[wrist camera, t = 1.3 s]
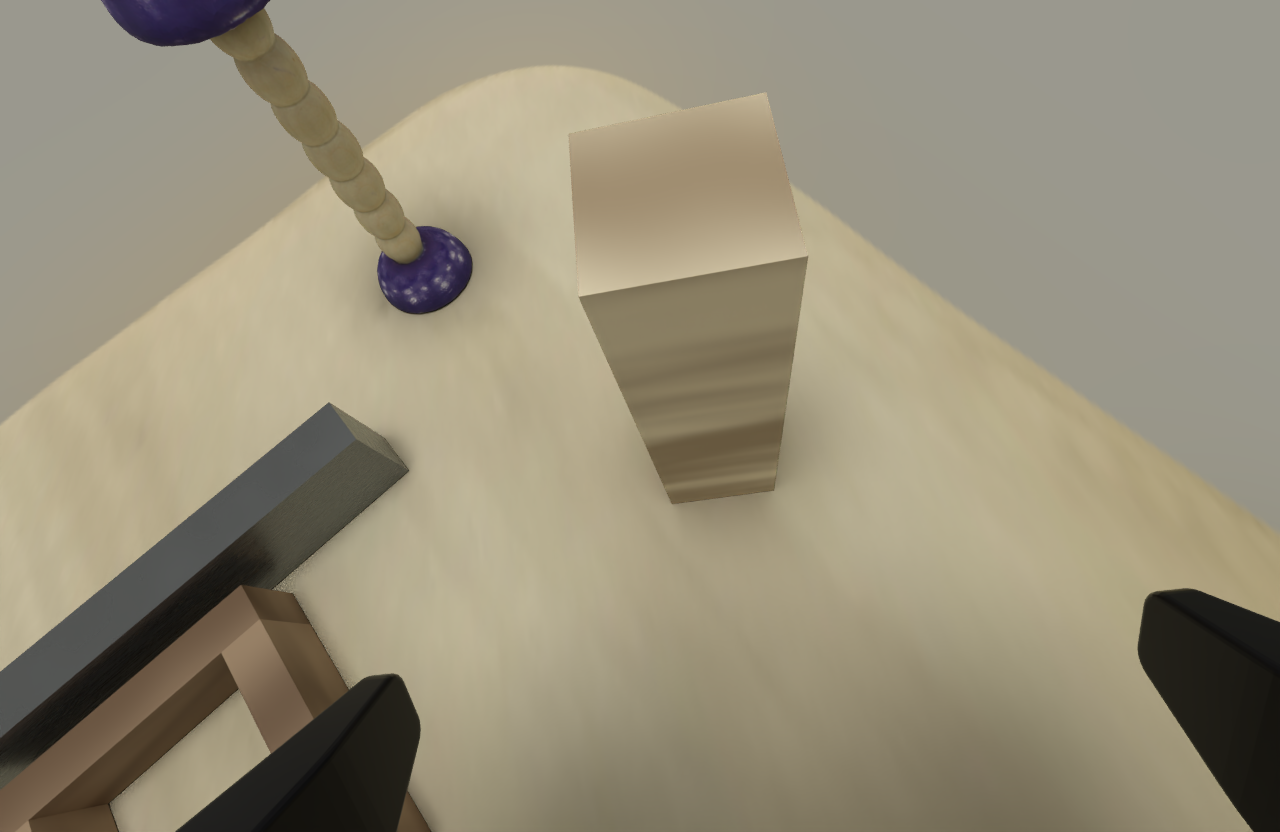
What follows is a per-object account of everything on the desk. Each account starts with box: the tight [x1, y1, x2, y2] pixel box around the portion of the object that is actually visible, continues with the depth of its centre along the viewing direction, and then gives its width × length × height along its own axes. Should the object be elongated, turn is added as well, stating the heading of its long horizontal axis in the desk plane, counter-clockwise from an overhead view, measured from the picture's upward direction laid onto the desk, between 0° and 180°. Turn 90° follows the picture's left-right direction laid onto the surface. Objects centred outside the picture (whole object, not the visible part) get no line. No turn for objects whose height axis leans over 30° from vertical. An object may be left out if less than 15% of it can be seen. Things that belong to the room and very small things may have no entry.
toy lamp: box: [101, 0, 472, 313], centre depth 20 cm, size 5×5×17 cm
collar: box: [0, 585, 431, 832], centre depth 18 cm, size 10×10×2 cm
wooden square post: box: [569, 93, 808, 504], centre depth 16 cm, size 4×4×13 cm
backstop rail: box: [0, 403, 409, 790], centre depth 21 cm, size 2×22×4 cm, turn 132°
